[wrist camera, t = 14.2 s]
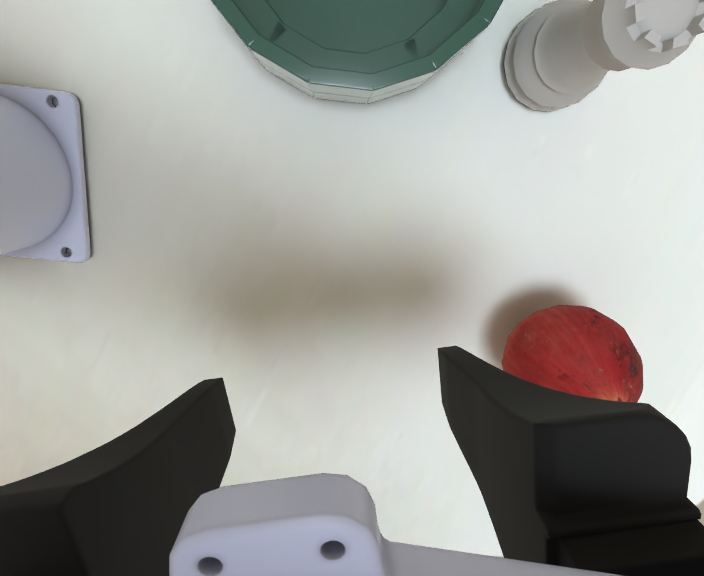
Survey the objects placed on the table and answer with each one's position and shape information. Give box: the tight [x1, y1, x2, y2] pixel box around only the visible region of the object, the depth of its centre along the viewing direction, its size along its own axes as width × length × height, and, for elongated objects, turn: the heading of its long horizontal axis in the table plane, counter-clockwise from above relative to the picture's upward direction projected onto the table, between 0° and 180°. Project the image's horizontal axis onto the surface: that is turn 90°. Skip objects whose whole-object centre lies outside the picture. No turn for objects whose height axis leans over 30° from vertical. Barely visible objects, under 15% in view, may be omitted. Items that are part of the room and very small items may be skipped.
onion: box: [502, 305, 643, 403], centre depth 20 cm, size 6×6×8 cm
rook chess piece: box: [504, 0, 704, 112], centre depth 16 cm, size 4×4×8 cm
